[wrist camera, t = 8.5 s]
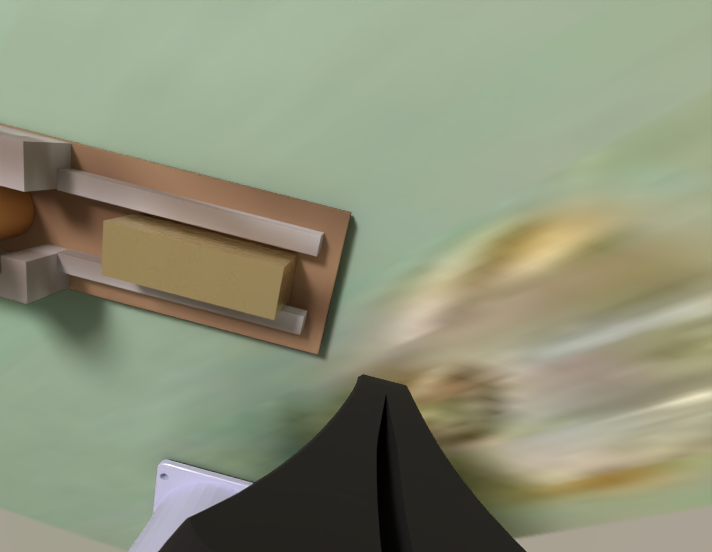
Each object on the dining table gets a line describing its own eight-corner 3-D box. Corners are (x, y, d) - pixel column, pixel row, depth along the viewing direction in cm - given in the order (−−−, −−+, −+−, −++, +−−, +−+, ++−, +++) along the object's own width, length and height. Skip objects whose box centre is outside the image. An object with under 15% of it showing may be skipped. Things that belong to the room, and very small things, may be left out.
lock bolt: (289, 300, 20) (274, 320, 17) (136, 260, 20) (101, 274, 18) (298, 253, 19) (284, 267, 17) (139, 212, 19) (103, 220, 17)
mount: (319, 348, 21) (307, 380, 18) (-51, 251, 22) (-122, 266, 19) (351, 212, 19) (343, 222, 16) (-63, 107, 19) (-146, 98, 16)
